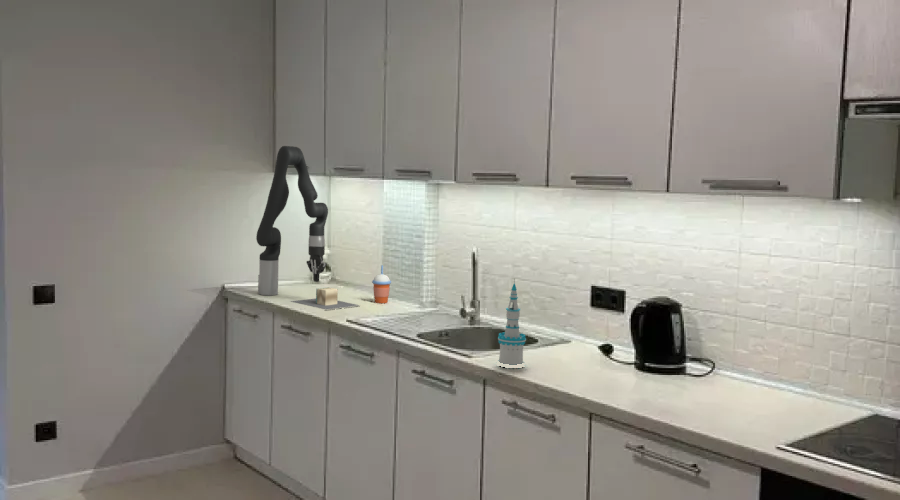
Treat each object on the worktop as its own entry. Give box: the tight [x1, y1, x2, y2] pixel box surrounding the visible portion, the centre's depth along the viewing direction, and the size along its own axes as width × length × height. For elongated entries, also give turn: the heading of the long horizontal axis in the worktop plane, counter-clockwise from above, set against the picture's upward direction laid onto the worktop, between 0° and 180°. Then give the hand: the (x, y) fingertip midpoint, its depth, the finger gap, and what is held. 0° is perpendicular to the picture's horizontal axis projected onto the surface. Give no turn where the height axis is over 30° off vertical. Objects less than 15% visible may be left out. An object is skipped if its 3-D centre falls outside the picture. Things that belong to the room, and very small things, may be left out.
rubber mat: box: [289, 298, 361, 312], centre depth 403 cm, size 27×20×1 cm
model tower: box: [497, 278, 527, 365], centre depth 292 cm, size 10×10×30 cm
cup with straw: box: [371, 265, 392, 305], centre depth 414 cm, size 9×9×18 cm
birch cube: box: [315, 287, 339, 305], centre depth 402 cm, size 7×7×7 cm
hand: (316, 281), depth 407 cm, fingers closed
